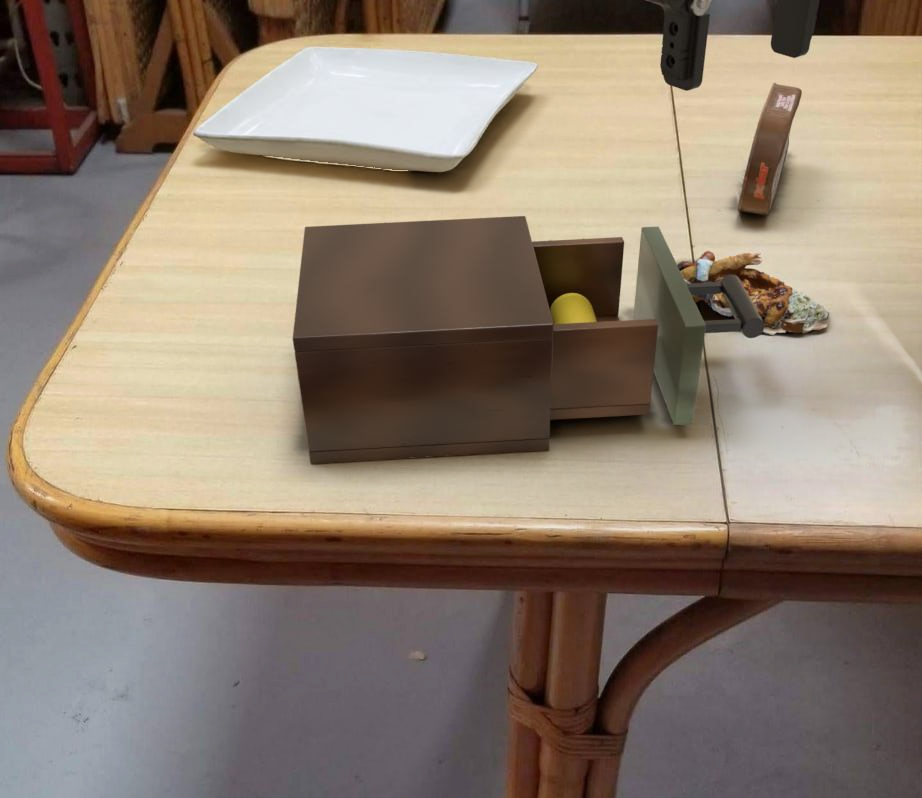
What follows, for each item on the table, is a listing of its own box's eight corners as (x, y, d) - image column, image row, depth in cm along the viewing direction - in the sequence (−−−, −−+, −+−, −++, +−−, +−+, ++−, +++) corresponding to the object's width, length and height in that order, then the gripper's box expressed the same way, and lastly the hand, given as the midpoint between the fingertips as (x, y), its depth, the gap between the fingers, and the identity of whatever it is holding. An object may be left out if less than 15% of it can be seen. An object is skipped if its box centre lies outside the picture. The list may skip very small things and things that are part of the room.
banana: (591, 321, 74) (588, 281, 72) (613, 391, 67) (611, 350, 65) (548, 327, 74) (544, 288, 72) (565, 398, 67) (562, 357, 65)
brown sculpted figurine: (823, 344, 75) (834, 297, 73) (654, 320, 78) (659, 275, 76) (831, 298, 80) (841, 253, 78) (671, 277, 83) (676, 233, 81)
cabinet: (523, 331, 77) (525, 215, 72) (549, 450, 66) (553, 324, 61) (319, 342, 77) (304, 226, 71) (310, 464, 66) (292, 338, 60)
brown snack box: (756, 162, 100) (771, 68, 95) (790, 166, 99) (808, 71, 94) (731, 228, 90) (747, 126, 84) (770, 233, 89) (788, 130, 83)
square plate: (309, 77, 122) (304, 41, 120) (540, 96, 116) (541, 58, 113) (194, 165, 103) (186, 124, 100) (464, 194, 96) (464, 151, 94)
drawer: (717, 313, 77) (730, 222, 72) (770, 420, 67) (790, 321, 62) (460, 327, 76) (458, 235, 72) (474, 436, 66) (472, 338, 61)
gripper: (741, -293, 43) (695, 118, 54) (955, -313, 49) (875, 58, 60) (614, -298, 48) (594, 81, 58) (824, -316, 54) (771, 29, 64)
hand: (736, 69), depth 59 cm, fingers open, 8 cm apart
